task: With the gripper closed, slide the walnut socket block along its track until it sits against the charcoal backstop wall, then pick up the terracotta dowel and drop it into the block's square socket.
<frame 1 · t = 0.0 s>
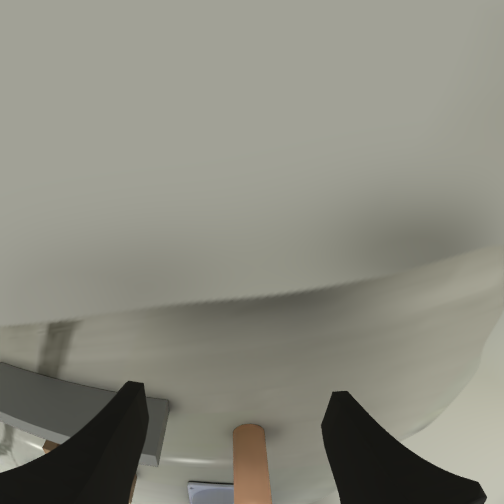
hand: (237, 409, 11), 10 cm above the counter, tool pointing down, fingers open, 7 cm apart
socket block: (92, 465, 24), point 2 cm above the counter, slide at 0.0 cm
dowel: (248, 433, 25), on the counter
backstop wall: (73, 389, 23), on the counter
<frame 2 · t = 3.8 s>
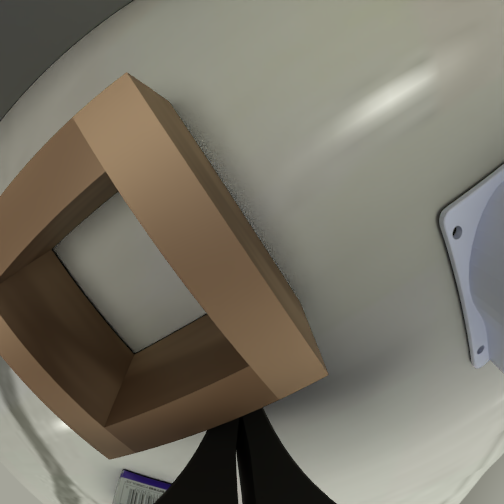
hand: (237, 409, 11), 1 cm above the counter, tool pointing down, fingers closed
socket block: (121, 296, 8), point 2 cm above the counter, slide at 0.9 cm, touching gripper
backstop wall: (21, 74, 8), on the counter
supplement box: (158, 495, 16), on the counter
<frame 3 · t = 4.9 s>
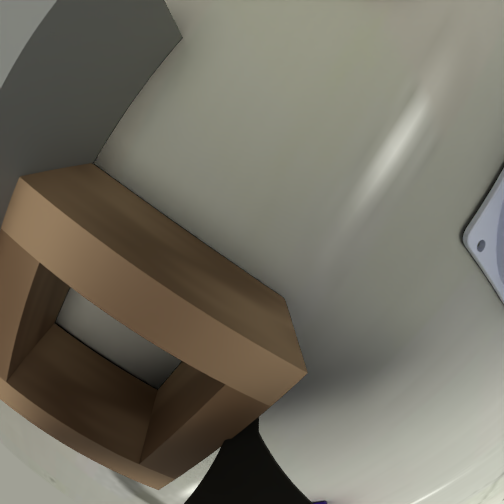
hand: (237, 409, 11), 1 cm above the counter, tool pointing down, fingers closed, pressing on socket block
socket block: (113, 348, 9), point 2 cm above the counter, slide at 5.2 cm, touching backstop wall, gripper
backstop wall: (33, 243, 10), on the counter
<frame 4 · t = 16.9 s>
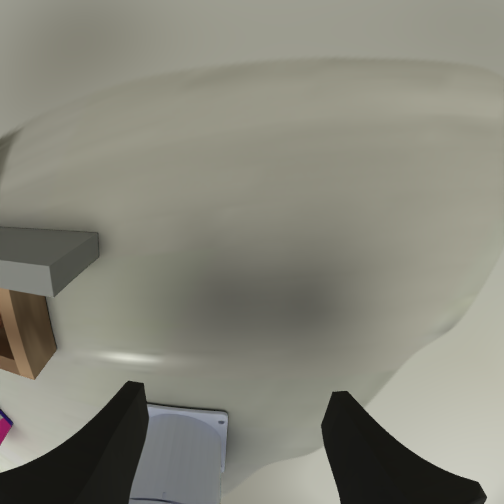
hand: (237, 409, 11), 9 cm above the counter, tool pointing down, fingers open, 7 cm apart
backstop wall: (0, 237, 18), on the counter
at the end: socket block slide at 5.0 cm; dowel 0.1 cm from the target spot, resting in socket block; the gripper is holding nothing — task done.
